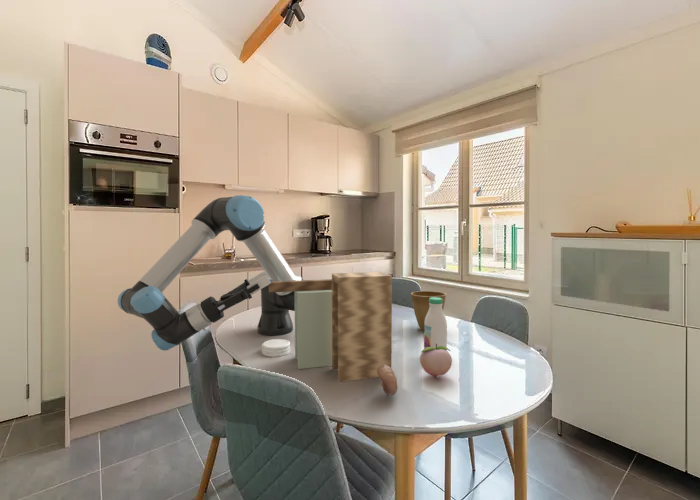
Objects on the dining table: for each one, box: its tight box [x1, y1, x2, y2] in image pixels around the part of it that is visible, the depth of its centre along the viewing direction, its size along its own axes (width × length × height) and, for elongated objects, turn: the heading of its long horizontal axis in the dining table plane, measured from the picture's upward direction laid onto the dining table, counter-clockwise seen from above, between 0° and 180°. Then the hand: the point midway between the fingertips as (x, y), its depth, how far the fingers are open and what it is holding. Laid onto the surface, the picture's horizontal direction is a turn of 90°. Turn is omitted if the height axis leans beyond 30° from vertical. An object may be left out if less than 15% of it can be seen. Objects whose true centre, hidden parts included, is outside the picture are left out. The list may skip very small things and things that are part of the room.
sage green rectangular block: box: [294, 290, 332, 370], centre depth 113 cm, size 12×10×24 cm
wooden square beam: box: [269, 278, 332, 292], centre depth 112 cm, size 24×3×3 cm, turn 104°
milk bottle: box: [423, 297, 448, 349], centre depth 119 cm, size 8×8×20 cm
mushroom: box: [377, 365, 398, 396], centre depth 89 cm, size 8×6×8 cm
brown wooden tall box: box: [331, 271, 393, 382], centre depth 104 cm, size 16×10×30 cm, turn 104°
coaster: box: [261, 338, 291, 358], centre depth 123 cm, size 10×10×4 cm
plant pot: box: [410, 290, 447, 332], centre depth 151 cm, size 15×15×16 cm
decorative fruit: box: [419, 344, 453, 378], centre depth 101 cm, size 9×8×10 cm
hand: (268, 276), depth 108 cm, fingers open, 13 cm apart
